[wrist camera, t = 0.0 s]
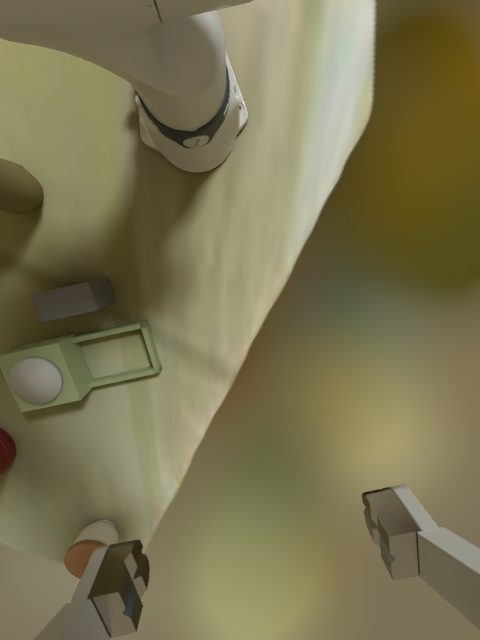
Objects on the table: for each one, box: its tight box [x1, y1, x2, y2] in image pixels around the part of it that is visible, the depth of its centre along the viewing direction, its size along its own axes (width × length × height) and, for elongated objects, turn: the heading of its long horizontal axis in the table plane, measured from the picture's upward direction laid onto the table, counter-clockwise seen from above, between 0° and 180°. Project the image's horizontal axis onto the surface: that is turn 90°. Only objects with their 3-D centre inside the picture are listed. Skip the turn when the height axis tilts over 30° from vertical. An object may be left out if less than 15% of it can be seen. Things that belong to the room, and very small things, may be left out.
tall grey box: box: [31, 277, 116, 322], centre depth 52 cm, size 5×10×8 cm, turn 102°
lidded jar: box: [64, 520, 119, 578], centre depth 65 cm, size 11×11×9 cm
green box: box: [0, 320, 162, 413], centre depth 55 cm, size 12×27×7 cm, turn 102°
